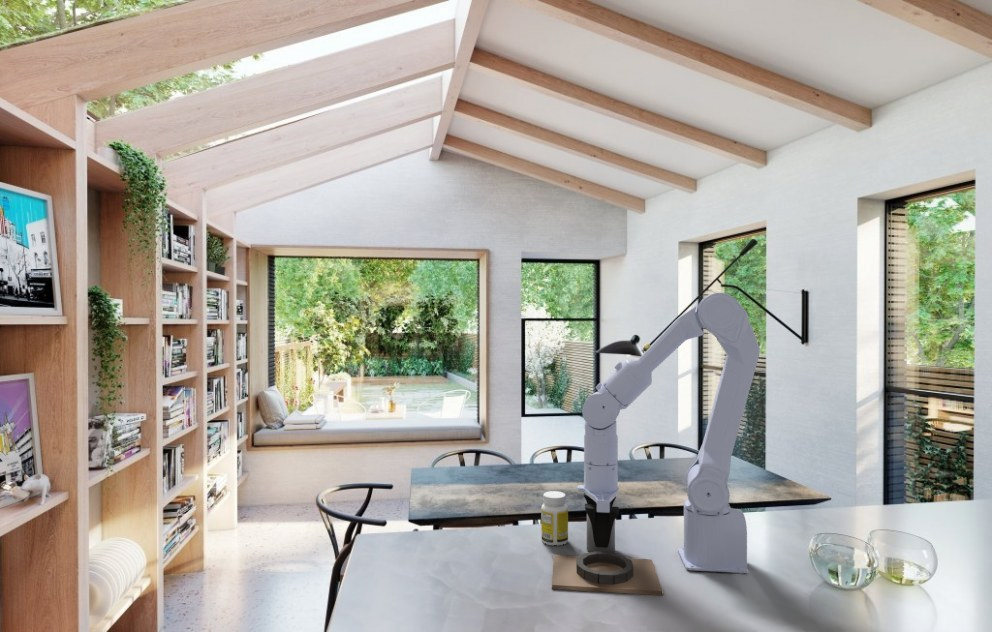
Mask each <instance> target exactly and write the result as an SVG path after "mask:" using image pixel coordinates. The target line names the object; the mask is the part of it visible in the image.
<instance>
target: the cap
mask: <svg viewBox="0 0 992 632" xmlns="http://www.w3.org/2000/svg"><path fill="white" fill-rule="evenodd" d="M586 551H587V553H589V552H594V551H595V552H596V551H602V552H609V553H610V552H612V553H615V552H616V520H615V521H614V524H613V527H612V531H611V536H610V542H609V545H608V548H603V547H596V546H595V543H594V538H593V531H592V526H591V522H590V519H589V516H588V514H587V513H586Z"/></svg>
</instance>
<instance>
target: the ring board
mask: <svg viewBox="0 0 992 632" xmlns="http://www.w3.org/2000/svg"><path fill="white" fill-rule="evenodd" d="M552 561H553V562H552V575H551V577H552V578H551V589H552V590H562V589H570V590H569V591H580V592H581V591H583V592H599V593H600V592H601V593H614V594H615V593H617V594H620V593H621V594H635V595H637V594H639V595H653V596H664V595H663V594H664V592H663V588H662V584H661V582H660V579H659V576H658V574H657V570H656V567H655V566H654V565H655V564H654V562H653V559H648V558H647V559H646V558H629V557H627V556H625V555H622V554H619V553H615V552H614V553H612V552H610V553H609V552H602V551H596V552H595V551H594V552H584V553H582V554H580V555H569V554H568V555H565V554H553V560H552Z"/></svg>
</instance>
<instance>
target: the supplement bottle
mask: <svg viewBox="0 0 992 632" xmlns="http://www.w3.org/2000/svg"><path fill="white" fill-rule="evenodd" d="M566 496H567V495H566V493H565V492H562V491H557V490H556V491H555V490H553V491H545V492H544V493H543V495H542V497H543V498H542V499H543V504H542V505H541V507H540V510H541V512H540V513H541V514H540V519H541V520H540V521H541V523H540V525H541V528H540V529H541V542H542V543H544V544H545V543H546V545H548V546H554V545H557V546H563V544H564V545H566V544H567V543H568V542H569V509H568V508H569V507H568V505H567V504H566V501H567V499H566V498H567V497H566Z"/></svg>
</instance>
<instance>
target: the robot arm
mask: <svg viewBox="0 0 992 632" xmlns="http://www.w3.org/2000/svg"><path fill="white" fill-rule="evenodd" d="M702 329H705V330H706V331H707V332H709V333H711V334H712V335H713V336H714V337H715V338H716V340H717V342H718V343H719V346H721V348H722V349H723V351H724V352H725V354H726V355H725V359H724V362H723V367H722V371H721V375H720V377H719V382H718V386H717V390H716V393H715V396H714V400H713V403H712V407H711V412H710V415H709V419H708V422H707V426H706V429H705V433H704V437H703V439H702V444H701V445H700V449H699V451H698V454H697V457H696V460H695V462H693V463H692V465H690V466H689V468H688V470H687V471H686V476H685V477H686V478H685V479H686V481H685V482H686V483H687V488H686V489H687V491H686V492H687V493H686V494H687V499H686V500H684V501H683V547H678V548H677V553H678V555H679V557H680V559H681V561H682V563H683V566H684V567H685V569H686V570H687V571H696V572H698V571H700V572H715V573H717V572H719V573H720V572H721V573H734V574H735V573H737V574H748V573H749V569H748V527H747V520H746V517H745V514H744V512H743V510H742V509H740V508H739V509H738V508H733V507H731V506H730V503H729V501H730V497H731V495H730V489H729V486H728V485H729V484H728V481H729V476H730V472H731V462H732V455H733V451H734V448H735V444H736V440H737V437H738V433H739V429H740V425H741V423H742V418H743V415H744V413H745V412H744V411H745V409H746V404H747V401H748V397H749V394H750V393H749V392H750V391H751V387H752V382H753V380H754V377H755V371H756V367H757V364H758V361H759V357H760V353H761V351H760V350H761V349H760V345H759V342H758V340H757V338H756V334H755V333H754V330H753V327H752V324H751V322H750V318H749V315H748V312H747V310H746V309H745V308H744V307H743V306H742V304H740V302H739V301H738V300H737V299H736V298H735V297H733V296H732V295H731V294H728V293H725V292H715V293H714V292H713V293H711V294H708V295H707V296H705V297H704V298H702V299H701V301H700V302H699V303H698V304H697V305H694V306H693V307H691V308H690V309H688V310H687V311H686V312H684V313H683V314H682V315H680V316H679V317H678V318H676V319H675V320H674V321H673V322H672V323H671V325H669V327H668V328H667V329H666V330H665V331H663V332H662V334H661V335H660V336H658V338H657V339H656V340H655V341H654V343H652V345H650V346H649V348H647V350H646V351H645V352H644V353H643V354H642V355H641V356H640V357H639V358H636V359H635V358H633V359H630V358H627V359H626V360H624V361H623V362H622V361H619V362H618V363H617V364H616V365H615V366H614V369H615V371H613V373H611V375H610V376H609V377H608V378H607V379H605V381H603V382H602V383H600V382H599V383H598V384H597V385H596V386H595V389H596V390H597V391H596V392H594V393H592V394H590V395H588V396H587V398H586V400H585V401H584V403H583V405H582V410H581V412H582V418H583V419H584V422H585V423H584V435H583V436H584V437H583V443H584V444H583V466H584V467H583V484H578V485H577V489H576V490H577V492H578V493H583V498H584V499H585V502H586V503H584V510H585V513H586V515H587V514H588V516H589V519H590V522H591V526H592V531H593V538H594V543H595V546H596V547H603V548H608V545H609V542H610V536H611V531H612V527H613V524H614V521H615V522H616V518H617V517H618V516H619V513H620V507H619V506H613V505H614V503H615V500H616V499H617V496H618V495H619V493H620V488H619V486H618V485H619V484H618V483H619V481H618V478H619V476H618V472H619V471H618V469H619V467H618V465H619V461H618V456H619V455H618V451H619V447H618V446H619V444H618V441H619V436H618V434H617V418H618V416H619V414H620V411H621V410H626V409H627V408H628V407H629V406H631V404H632V403H634V401H635V400H637V398H639V397H640V396H641V395H642V394H643V392H645V391H646V390H647V389H648V387H650V386H651V385H652V383H653V377H652V372H653V371H655V369H656V368H658V367H659V366H660V365H661V364H662V363H663V362H664V361H666V359H667V358H669V357H670V356H671V355H672V354H673V353H674V352H675V351H676V350H677V349H678V348H679V347H680V346H681V345H683V343H685V342H686V341H687V340H690V339H694V338H698V337H702V336H704V335H705V333H704V331H703V330H702Z"/></svg>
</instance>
